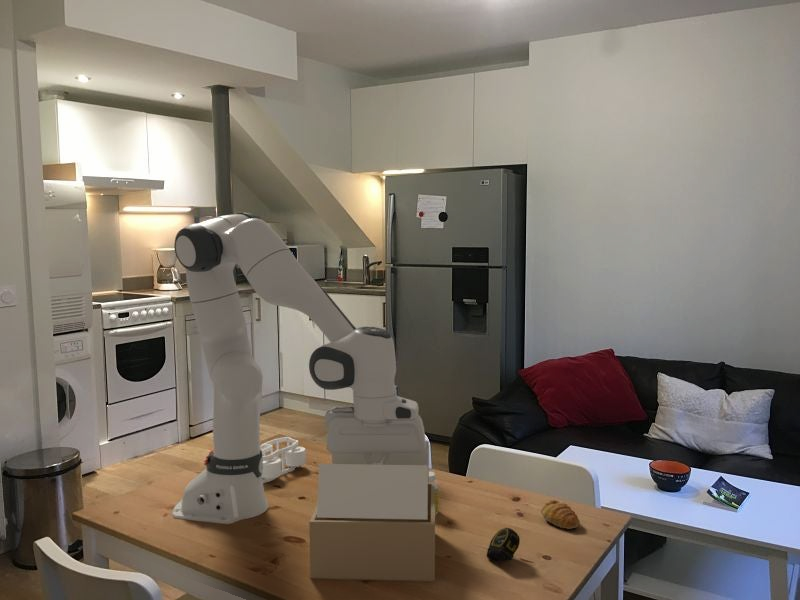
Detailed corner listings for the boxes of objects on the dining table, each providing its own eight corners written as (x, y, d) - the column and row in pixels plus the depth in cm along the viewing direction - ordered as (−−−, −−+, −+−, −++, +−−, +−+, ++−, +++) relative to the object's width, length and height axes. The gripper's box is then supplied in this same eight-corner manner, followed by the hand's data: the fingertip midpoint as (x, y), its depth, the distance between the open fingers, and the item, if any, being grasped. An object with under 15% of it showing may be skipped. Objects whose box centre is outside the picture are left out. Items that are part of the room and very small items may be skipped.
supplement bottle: (436, 518, 161) (436, 478, 160) (413, 516, 162) (413, 476, 161) (439, 509, 167) (439, 470, 166) (417, 507, 168) (417, 469, 167)
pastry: (586, 528, 155) (588, 512, 155) (563, 533, 152) (564, 516, 152) (559, 512, 164) (560, 497, 163) (537, 516, 160) (538, 501, 160)
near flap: (317, 517, 131) (316, 517, 131) (319, 463, 134) (318, 463, 133) (427, 519, 130) (427, 519, 130) (427, 465, 132) (427, 465, 132)
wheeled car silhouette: (268, 487, 182) (267, 460, 181) (236, 480, 187) (236, 454, 186) (313, 465, 199) (312, 441, 198) (283, 459, 204) (282, 435, 204)
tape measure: (495, 565, 140) (481, 554, 140) (510, 537, 144) (497, 526, 144) (513, 565, 135) (499, 553, 134) (528, 536, 138) (515, 524, 138)
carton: (310, 581, 132) (309, 521, 131) (328, 532, 154) (327, 480, 153) (434, 584, 131) (434, 524, 129) (435, 534, 152) (435, 482, 151)
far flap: (428, 481, 151) (428, 479, 151) (428, 441, 147) (428, 440, 148) (333, 479, 152) (333, 478, 152) (331, 440, 148) (331, 438, 149)
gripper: (321, 411, 136) (324, 478, 138) (424, 410, 135) (425, 478, 137) (327, 403, 143) (329, 467, 144) (425, 402, 141) (426, 467, 143)
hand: (377, 472), depth 140 cm, fingers closed
